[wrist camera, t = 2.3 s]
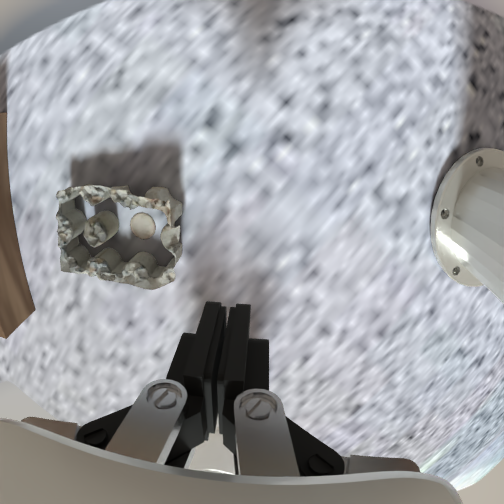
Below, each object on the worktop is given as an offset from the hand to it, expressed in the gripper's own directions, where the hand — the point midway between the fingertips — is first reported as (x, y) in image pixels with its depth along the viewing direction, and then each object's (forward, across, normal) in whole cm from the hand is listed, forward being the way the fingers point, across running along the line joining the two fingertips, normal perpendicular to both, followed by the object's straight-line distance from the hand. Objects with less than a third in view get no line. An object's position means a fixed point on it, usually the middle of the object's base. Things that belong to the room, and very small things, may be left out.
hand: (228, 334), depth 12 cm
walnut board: (+13, +25, 0) cm, 28 cm away
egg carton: (+13, +10, 0) cm, 17 cm away
